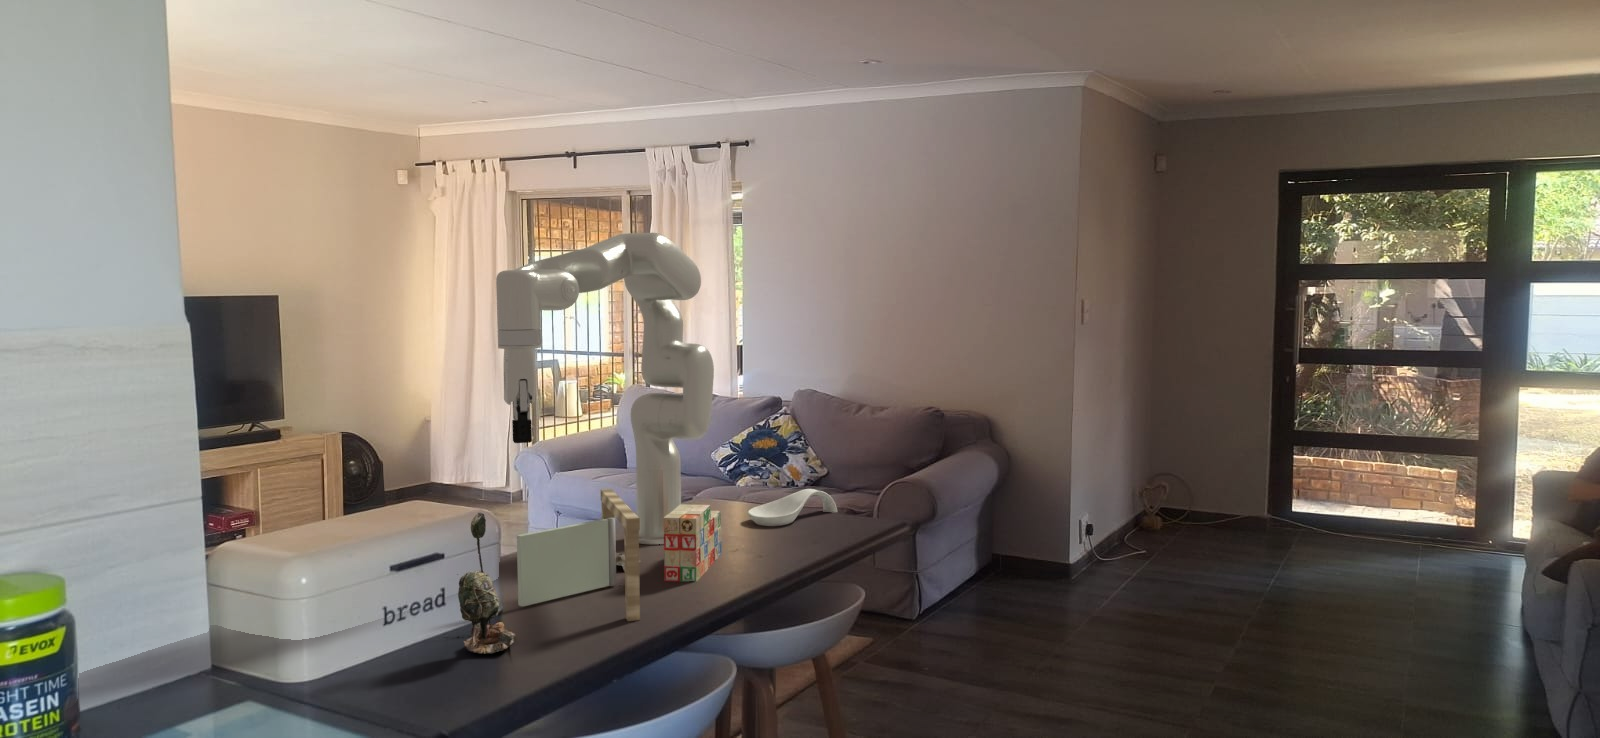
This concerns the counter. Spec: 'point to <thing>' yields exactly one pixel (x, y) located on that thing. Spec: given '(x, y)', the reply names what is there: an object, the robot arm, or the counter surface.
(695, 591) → the counter surface
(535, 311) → the robot arm
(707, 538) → the stack of blocks
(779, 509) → the spoon rest
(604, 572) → the door
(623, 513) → the door frame
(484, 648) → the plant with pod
